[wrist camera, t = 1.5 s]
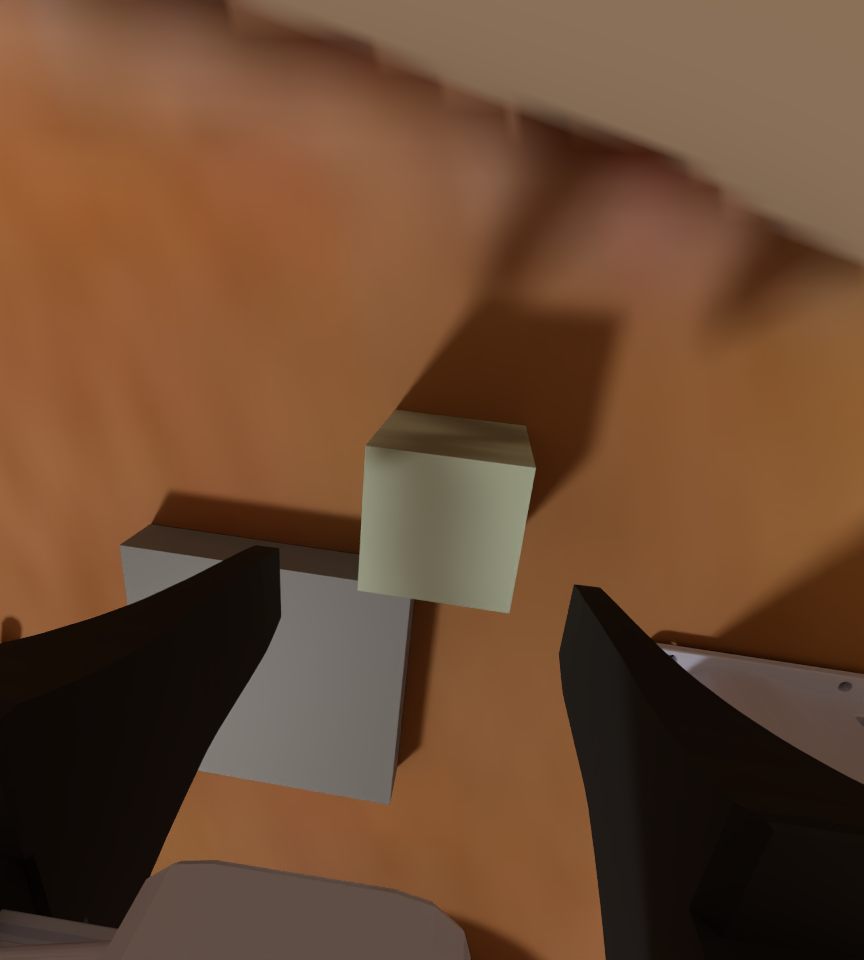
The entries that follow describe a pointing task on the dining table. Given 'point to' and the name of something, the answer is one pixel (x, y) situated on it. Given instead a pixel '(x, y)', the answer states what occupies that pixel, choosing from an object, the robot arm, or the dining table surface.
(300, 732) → the stand
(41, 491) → the dining table surface
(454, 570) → the cube
